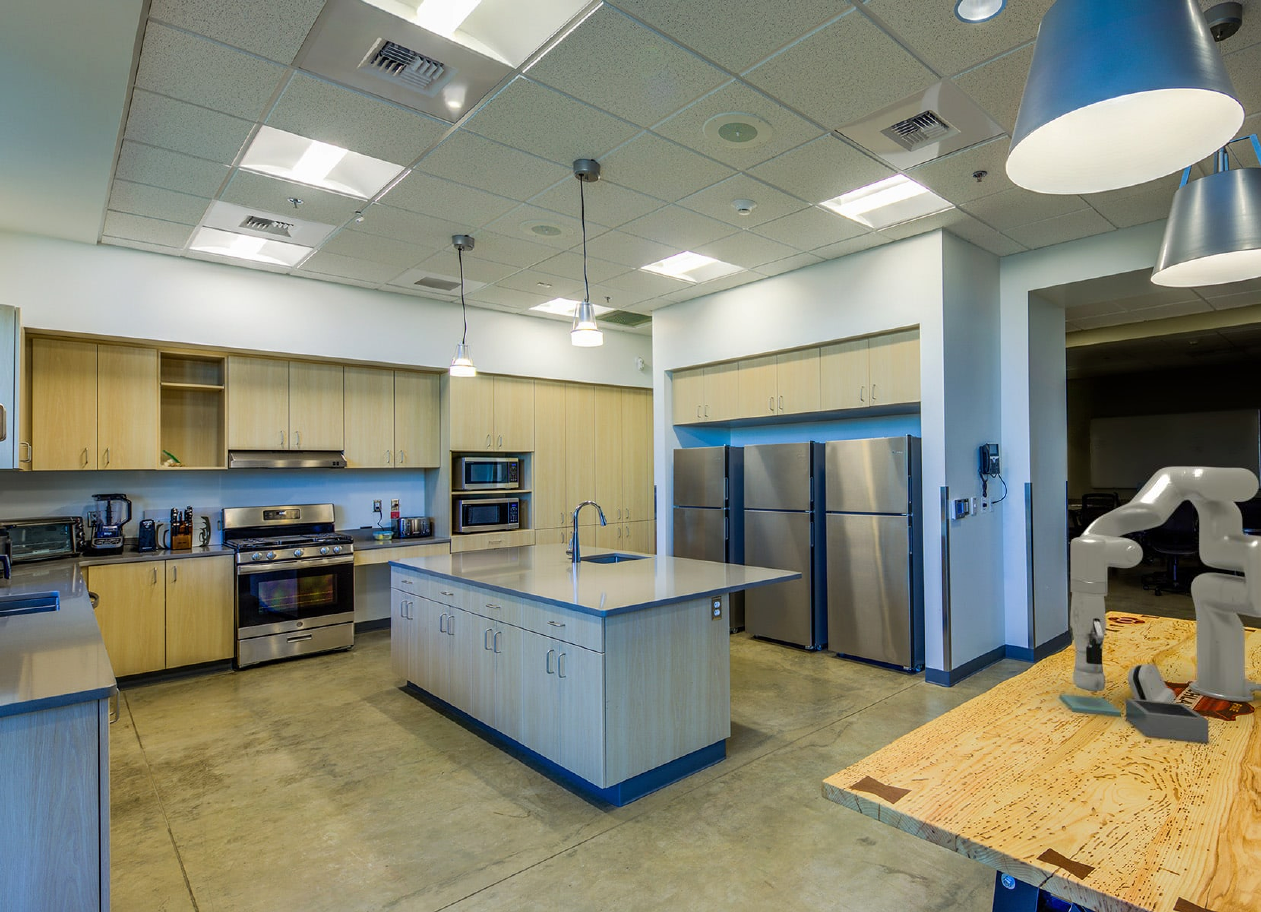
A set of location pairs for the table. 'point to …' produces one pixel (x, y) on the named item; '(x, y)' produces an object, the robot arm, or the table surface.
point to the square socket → (1167, 720)
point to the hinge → (1149, 684)
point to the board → (1090, 705)
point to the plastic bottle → (1086, 666)
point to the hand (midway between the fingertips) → (1088, 659)
